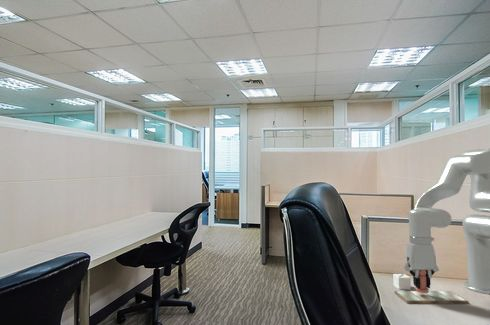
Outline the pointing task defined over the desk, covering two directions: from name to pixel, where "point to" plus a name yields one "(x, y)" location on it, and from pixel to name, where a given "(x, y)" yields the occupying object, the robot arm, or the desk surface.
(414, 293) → the board
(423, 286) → the pawn
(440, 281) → the desk surface
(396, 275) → the die
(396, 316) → the desk surface
